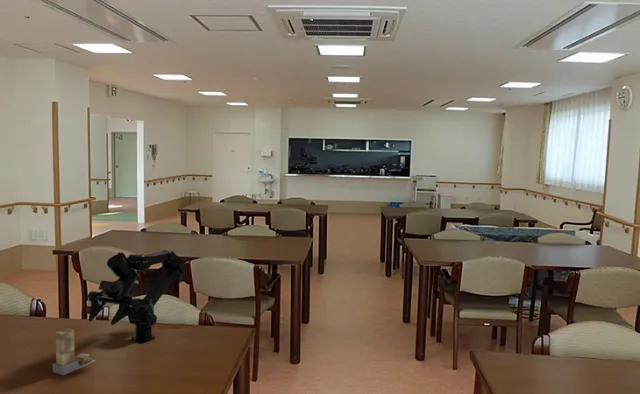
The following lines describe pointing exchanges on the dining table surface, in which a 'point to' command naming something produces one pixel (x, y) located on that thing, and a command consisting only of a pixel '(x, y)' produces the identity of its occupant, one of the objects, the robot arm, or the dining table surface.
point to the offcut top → (82, 357)
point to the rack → (67, 367)
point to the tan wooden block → (65, 347)
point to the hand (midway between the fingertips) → (100, 322)
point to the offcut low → (84, 361)
